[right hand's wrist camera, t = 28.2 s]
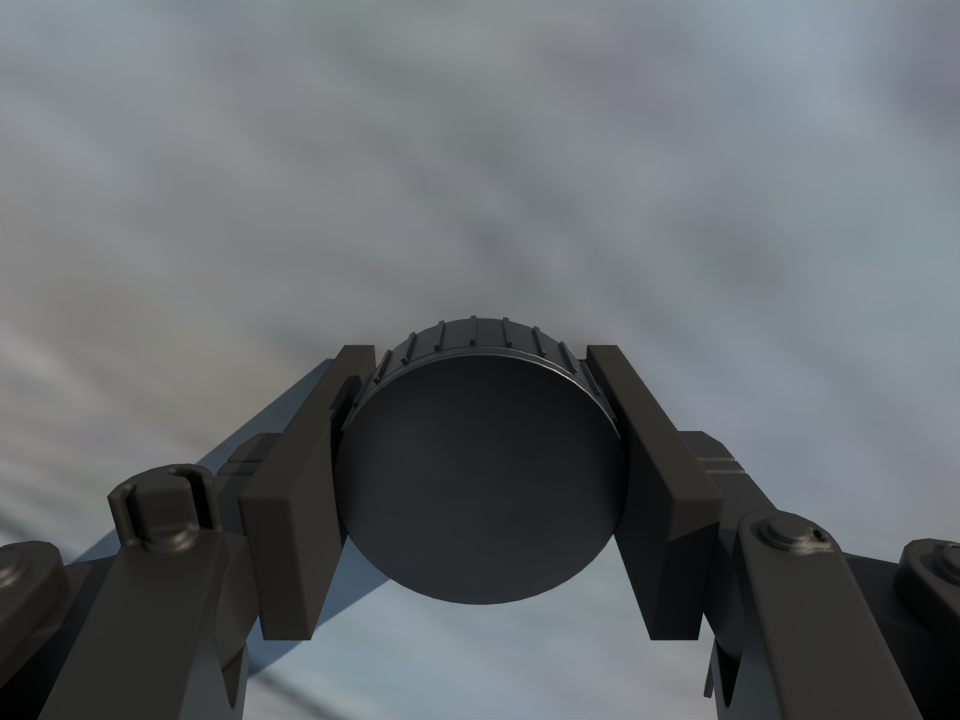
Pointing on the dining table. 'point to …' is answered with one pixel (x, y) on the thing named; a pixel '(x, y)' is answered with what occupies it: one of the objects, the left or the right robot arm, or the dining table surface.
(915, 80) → the dining table surface
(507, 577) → the lid
